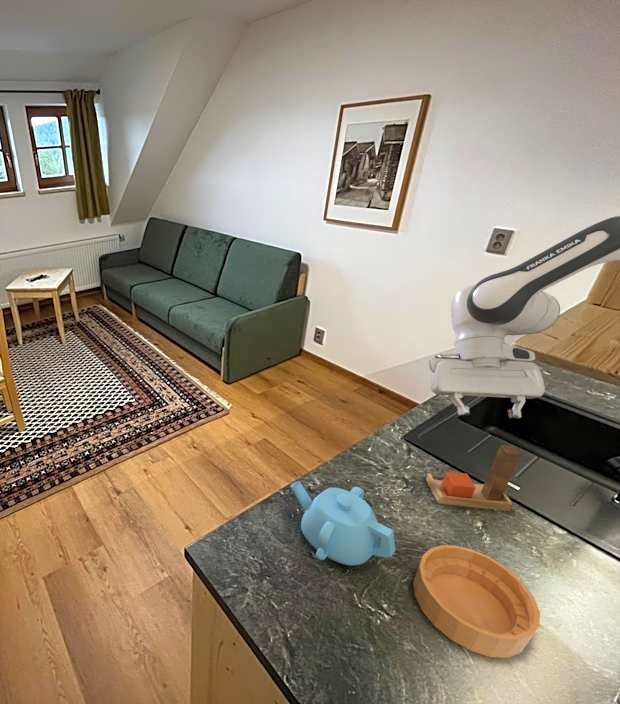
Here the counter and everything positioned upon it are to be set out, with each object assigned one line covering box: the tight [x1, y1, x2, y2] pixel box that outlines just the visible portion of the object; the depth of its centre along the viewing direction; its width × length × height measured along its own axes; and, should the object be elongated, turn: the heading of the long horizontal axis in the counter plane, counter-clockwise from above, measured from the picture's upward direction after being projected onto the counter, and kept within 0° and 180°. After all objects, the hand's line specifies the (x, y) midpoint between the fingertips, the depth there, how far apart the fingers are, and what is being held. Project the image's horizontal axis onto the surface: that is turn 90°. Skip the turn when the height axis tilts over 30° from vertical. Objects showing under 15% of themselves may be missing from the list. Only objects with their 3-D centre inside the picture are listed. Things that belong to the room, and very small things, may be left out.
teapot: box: [290, 481, 396, 567], centre depth 77 cm, size 20×17×12 cm
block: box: [441, 471, 476, 498], centre depth 85 cm, size 4×4×4 cm
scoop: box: [425, 444, 522, 512], centre depth 83 cm, size 7×13×14 cm, turn 77°
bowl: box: [412, 544, 541, 659], centre depth 65 cm, size 15×15×6 cm
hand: (489, 416), depth 86 cm, fingers open, 8 cm apart
